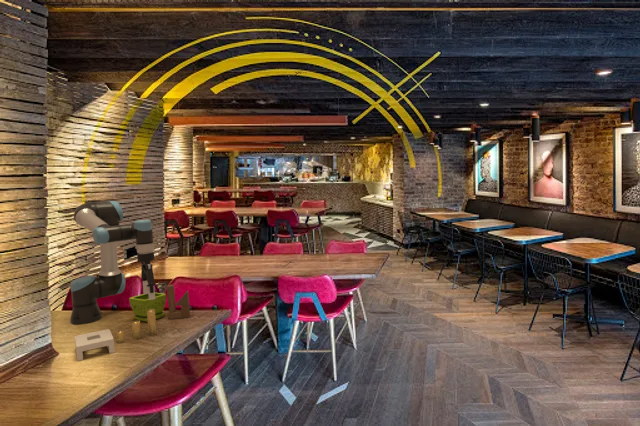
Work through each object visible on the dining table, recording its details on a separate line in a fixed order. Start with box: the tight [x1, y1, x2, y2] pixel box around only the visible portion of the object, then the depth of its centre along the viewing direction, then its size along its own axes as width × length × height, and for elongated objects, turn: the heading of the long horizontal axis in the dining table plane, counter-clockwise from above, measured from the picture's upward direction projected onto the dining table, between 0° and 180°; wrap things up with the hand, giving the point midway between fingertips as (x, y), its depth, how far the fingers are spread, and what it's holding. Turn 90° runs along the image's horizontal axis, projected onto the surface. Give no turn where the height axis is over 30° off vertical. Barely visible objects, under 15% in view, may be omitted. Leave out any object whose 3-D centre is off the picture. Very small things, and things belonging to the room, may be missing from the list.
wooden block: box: [166, 284, 191, 320], centre depth 226 cm, size 4×11×18 cm, turn 95°
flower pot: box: [128, 292, 167, 323], centre depth 227 cm, size 14×14×13 cm
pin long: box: [147, 309, 158, 337], centre depth 202 cm, size 4×4×12 cm
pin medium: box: [131, 319, 142, 340], centre depth 198 cm, size 4×4×8 cm
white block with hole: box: [74, 328, 116, 362], centre depth 185 cm, size 16×14×6 cm
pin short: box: [115, 329, 126, 344], centre depth 194 cm, size 4×4×5 cm
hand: (149, 296), depth 200 cm, fingers open, 13 cm apart
